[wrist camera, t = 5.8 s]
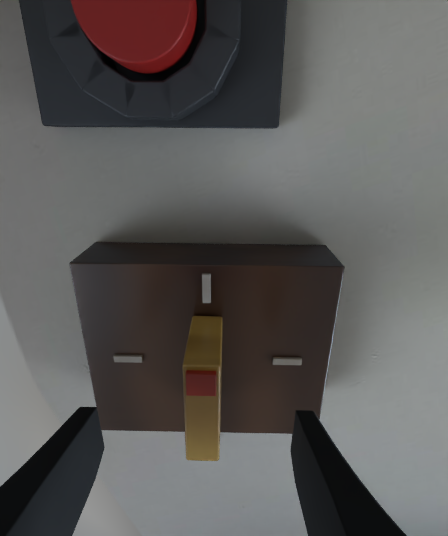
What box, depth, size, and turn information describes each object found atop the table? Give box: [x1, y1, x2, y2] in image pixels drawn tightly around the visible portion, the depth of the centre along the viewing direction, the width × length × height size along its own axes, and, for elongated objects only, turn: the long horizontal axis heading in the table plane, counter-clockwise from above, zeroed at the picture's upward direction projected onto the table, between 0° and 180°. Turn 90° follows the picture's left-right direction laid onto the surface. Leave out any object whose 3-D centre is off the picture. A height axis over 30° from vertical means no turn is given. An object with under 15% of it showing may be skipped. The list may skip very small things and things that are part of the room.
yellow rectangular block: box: [182, 316, 222, 461], centre depth 14 cm, size 5×1×4 cm, turn 179°
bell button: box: [71, 0, 197, 74], centre depth 10 cm, size 4×4×2 cm
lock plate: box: [70, 242, 344, 434], centre depth 17 cm, size 12×10×3 cm
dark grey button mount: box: [19, 0, 287, 128], centre depth 12 cm, size 10×7×3 cm
